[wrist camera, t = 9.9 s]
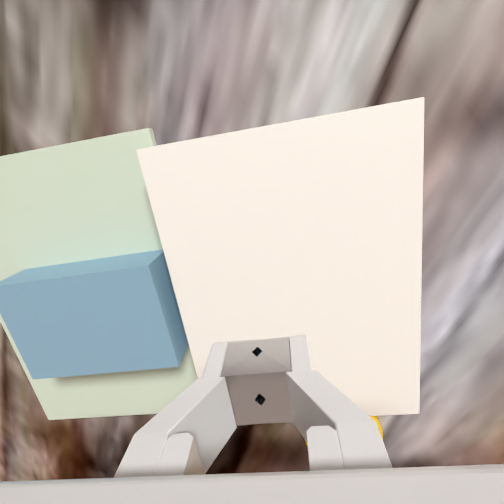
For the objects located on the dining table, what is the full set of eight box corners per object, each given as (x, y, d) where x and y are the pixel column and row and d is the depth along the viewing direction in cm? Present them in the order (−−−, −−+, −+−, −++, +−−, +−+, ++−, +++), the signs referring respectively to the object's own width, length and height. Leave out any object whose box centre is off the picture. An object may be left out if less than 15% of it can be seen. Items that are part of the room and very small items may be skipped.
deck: (157, 149, 16) (135, 149, 13) (399, 105, 14) (424, 96, 12) (218, 392, 21) (210, 424, 18) (401, 380, 19) (419, 413, 17)
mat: (-64, 169, 17) (-74, 170, 17) (152, 128, 15) (148, 127, 15) (53, 414, 23) (48, 419, 22) (221, 404, 21) (219, 410, 20)
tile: (25, 269, 18) (-13, 287, 16) (166, 248, 17) (148, 265, 15) (61, 352, 20) (32, 379, 18) (191, 339, 19) (178, 366, 16)
